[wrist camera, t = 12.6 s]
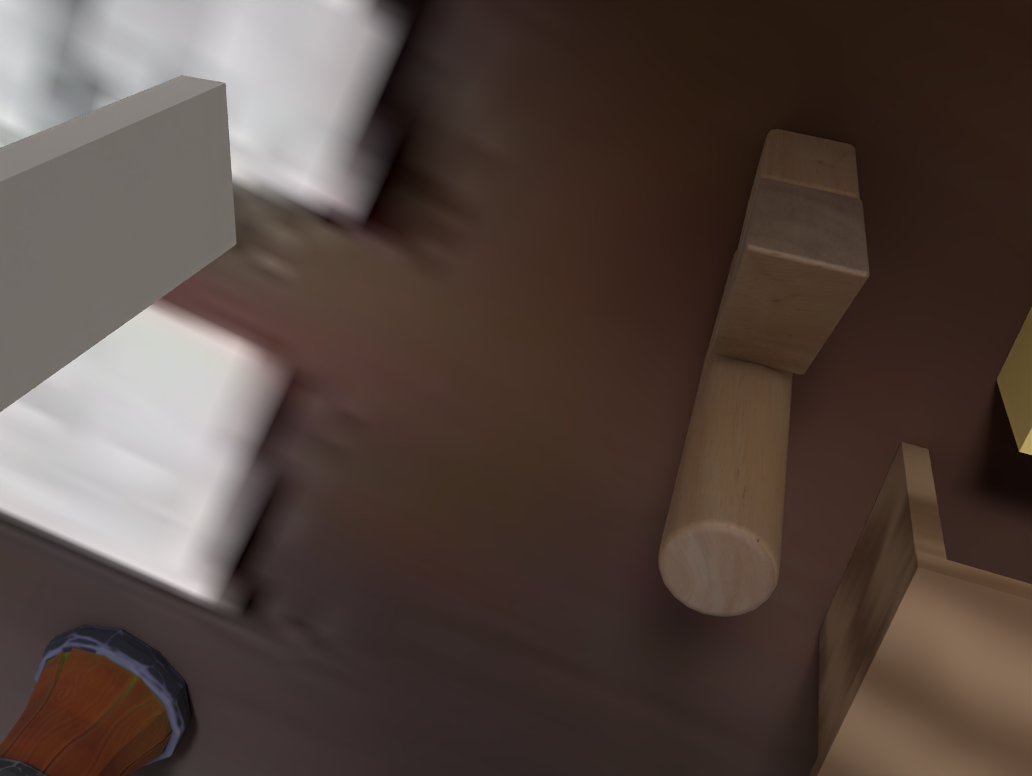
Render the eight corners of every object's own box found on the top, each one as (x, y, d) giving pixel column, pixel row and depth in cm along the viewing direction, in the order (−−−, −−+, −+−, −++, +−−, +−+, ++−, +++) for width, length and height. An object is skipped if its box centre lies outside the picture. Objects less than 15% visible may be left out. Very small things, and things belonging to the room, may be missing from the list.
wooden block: (858, 143, 40) (878, 328, 24) (784, 373, 45) (762, 641, 30) (767, 124, 40) (731, 292, 25) (705, 353, 46) (643, 605, 30)
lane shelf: (901, 431, 45) (918, 567, 36) (1174, 506, 43) (1260, 666, 34) (812, 636, 51) (809, 791, 43) (1046, 708, 50) (1091, 885, 41)
